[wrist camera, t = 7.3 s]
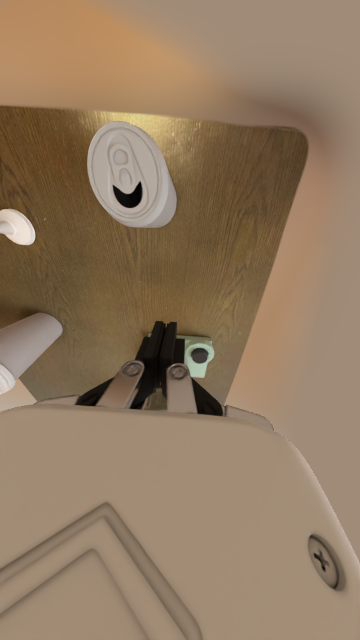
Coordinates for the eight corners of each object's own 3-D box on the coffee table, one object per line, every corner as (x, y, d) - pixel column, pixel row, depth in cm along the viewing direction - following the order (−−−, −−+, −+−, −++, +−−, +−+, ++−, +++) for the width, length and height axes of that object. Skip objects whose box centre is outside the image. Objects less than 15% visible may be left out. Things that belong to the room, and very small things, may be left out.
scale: (214, 335, 34) (216, 344, 31) (205, 373, 40) (206, 383, 37) (148, 330, 34) (145, 339, 31) (151, 369, 40) (148, 378, 38)
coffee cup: (18, 322, 34) (-84, 379, 21) (34, 297, 31) (-76, 347, 18) (58, 347, 38) (-9, 409, 25) (77, 327, 34) (10, 387, 21)
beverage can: (138, 229, 24) (99, 231, 13) (127, 174, 20) (64, 119, 10) (179, 225, 23) (171, 223, 13) (174, 167, 20) (159, 102, 9)
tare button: (207, 348, 32) (208, 353, 31) (205, 359, 34) (206, 364, 32) (192, 347, 32) (192, 352, 31) (191, 357, 34) (191, 363, 32)
